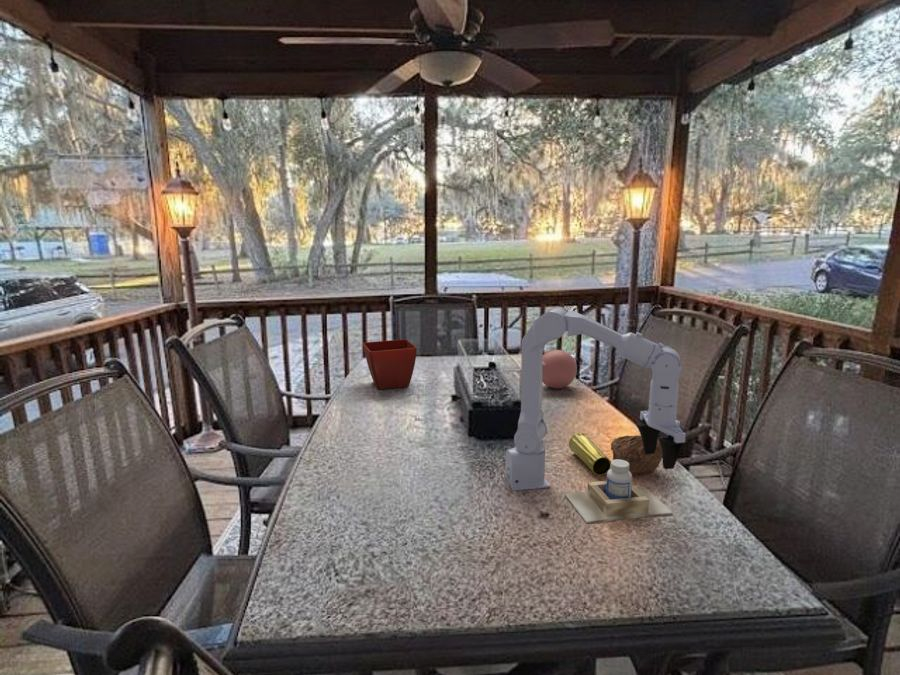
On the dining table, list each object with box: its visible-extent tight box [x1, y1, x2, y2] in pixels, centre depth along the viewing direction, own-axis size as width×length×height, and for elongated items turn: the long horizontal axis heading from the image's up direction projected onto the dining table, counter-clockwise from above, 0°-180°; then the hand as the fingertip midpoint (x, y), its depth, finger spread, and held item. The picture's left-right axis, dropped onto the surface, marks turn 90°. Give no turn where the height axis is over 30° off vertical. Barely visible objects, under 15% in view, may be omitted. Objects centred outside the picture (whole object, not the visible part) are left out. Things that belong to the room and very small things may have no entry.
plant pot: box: [362, 338, 418, 390], centre depth 209 cm, size 19×19×17 cm
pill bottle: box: [606, 459, 633, 500], centre depth 115 cm, size 6×5×10 cm
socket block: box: [564, 480, 673, 524], centre depth 115 cm, size 20×12×3 cm, turn 99°
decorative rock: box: [610, 434, 663, 476], centre depth 131 cm, size 13×11×10 cm
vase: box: [568, 432, 612, 477], centre depth 136 cm, size 6×6×14 cm
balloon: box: [542, 349, 578, 390], centre depth 202 cm, size 15×20×15 cm
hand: (658, 460), depth 114 cm, fingers open, 7 cm apart
